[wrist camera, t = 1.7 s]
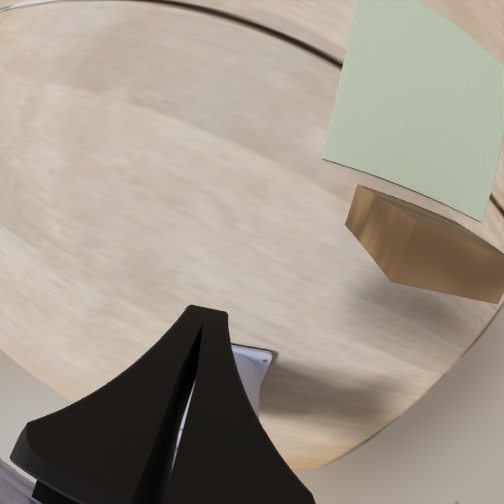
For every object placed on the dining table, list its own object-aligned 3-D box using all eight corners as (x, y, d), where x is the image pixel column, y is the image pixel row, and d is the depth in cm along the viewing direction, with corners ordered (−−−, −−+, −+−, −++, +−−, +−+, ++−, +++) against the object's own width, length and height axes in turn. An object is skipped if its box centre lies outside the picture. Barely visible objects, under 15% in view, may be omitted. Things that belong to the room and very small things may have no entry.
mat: (478, 220, 17) (481, 222, 17) (321, 157, 16) (322, 158, 16) (504, 69, 11) (507, 69, 10) (358, -25, 10) (360, -27, 10)
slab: (442, 253, 19) (497, 304, 12) (344, 224, 18) (390, 281, 11) (455, 221, 18) (517, 263, 10) (357, 184, 17) (415, 220, 10)
